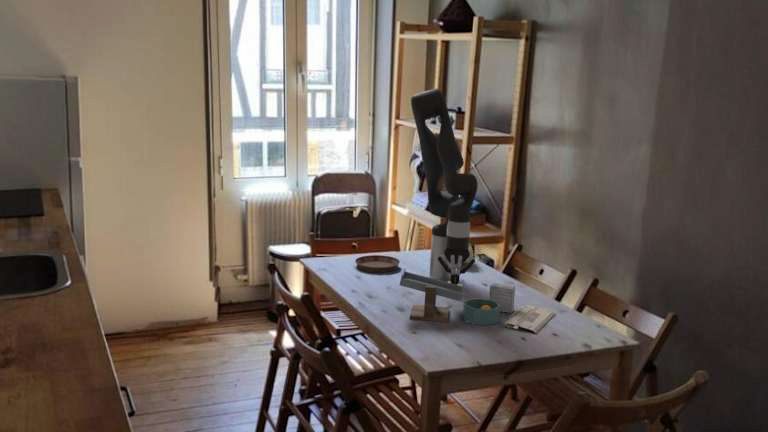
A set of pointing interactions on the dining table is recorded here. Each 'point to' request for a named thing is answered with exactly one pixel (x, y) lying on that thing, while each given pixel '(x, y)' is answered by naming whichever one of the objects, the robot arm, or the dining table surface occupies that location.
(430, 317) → the lever stand
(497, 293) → the medicine box
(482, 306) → the ball
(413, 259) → the dining table surface
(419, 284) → the lever
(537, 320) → the newspaper
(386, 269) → the plant saucer
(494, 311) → the teal faceted bowl
